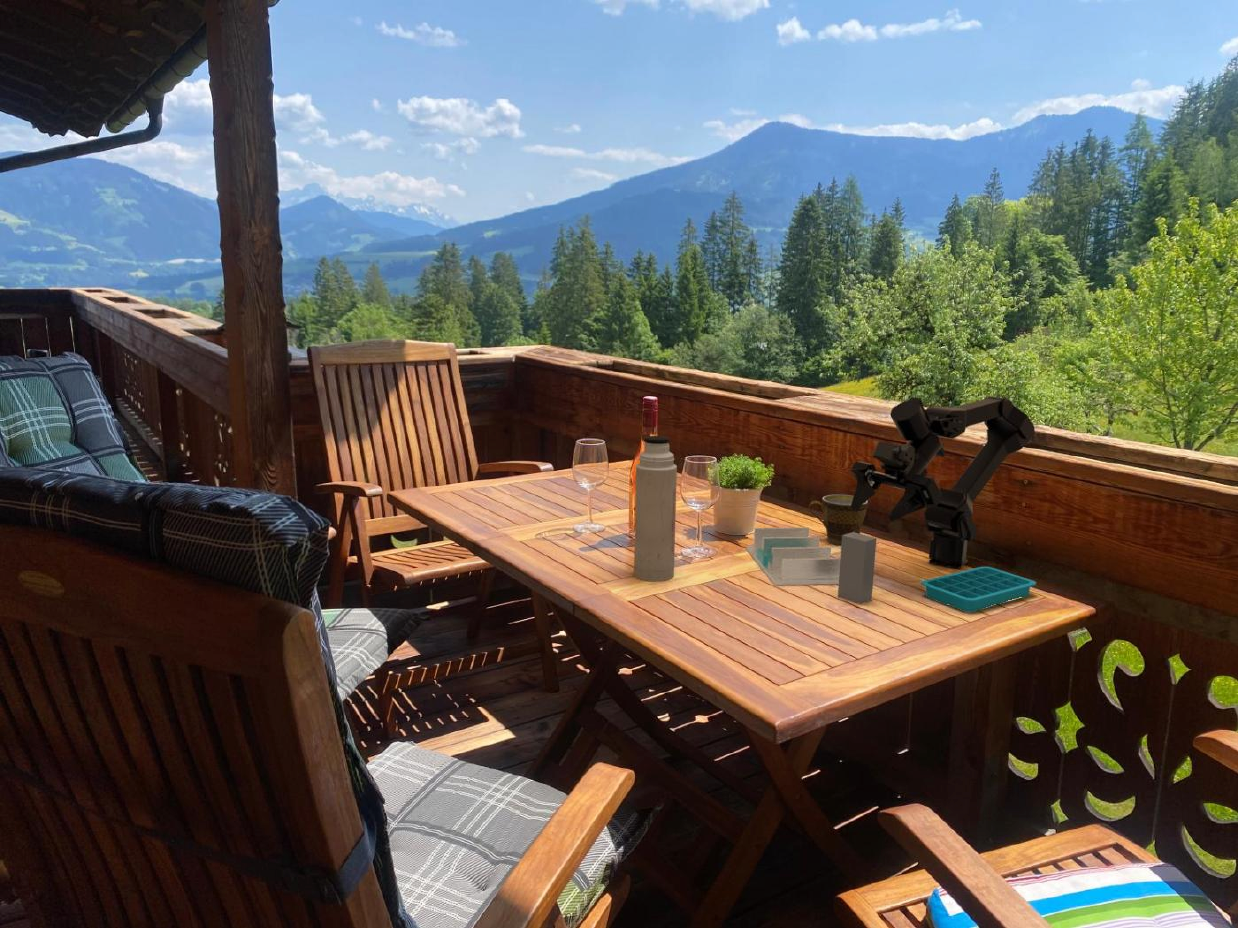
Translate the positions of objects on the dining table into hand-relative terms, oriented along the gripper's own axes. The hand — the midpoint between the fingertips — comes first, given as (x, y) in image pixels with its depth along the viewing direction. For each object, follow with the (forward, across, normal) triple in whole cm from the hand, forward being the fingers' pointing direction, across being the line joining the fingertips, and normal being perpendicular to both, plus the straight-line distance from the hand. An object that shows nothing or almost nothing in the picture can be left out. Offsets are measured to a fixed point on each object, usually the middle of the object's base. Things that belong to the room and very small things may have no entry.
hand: (870, 514), depth 164 cm
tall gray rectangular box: (+15, +4, +6) cm, 17 cm away
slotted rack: (+12, -16, +8) cm, 21 cm away
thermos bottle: (+34, -26, -10) cm, 44 cm away
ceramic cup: (-3, -24, +22) cm, 32 cm away
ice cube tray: (-1, +15, +20) cm, 25 cm away
